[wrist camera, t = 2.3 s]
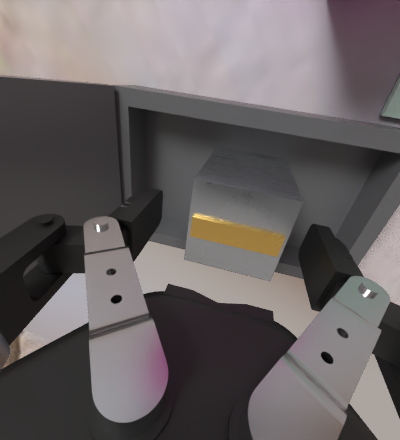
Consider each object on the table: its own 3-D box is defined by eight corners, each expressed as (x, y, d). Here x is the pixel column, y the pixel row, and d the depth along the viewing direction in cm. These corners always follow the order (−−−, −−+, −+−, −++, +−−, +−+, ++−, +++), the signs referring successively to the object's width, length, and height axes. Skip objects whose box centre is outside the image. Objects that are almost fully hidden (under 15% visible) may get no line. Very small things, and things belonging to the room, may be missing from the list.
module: (286, 159, 16) (304, 204, 10) (266, 219, 18) (270, 284, 12) (217, 146, 16) (192, 180, 10) (207, 206, 19) (183, 261, 13)
